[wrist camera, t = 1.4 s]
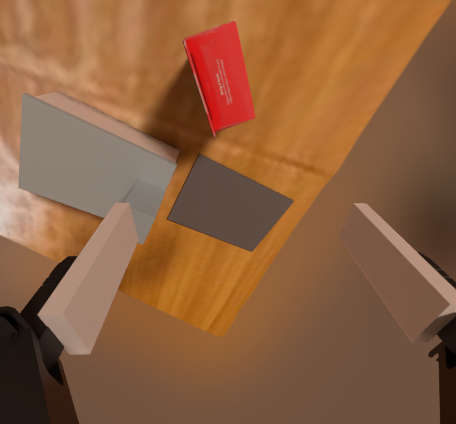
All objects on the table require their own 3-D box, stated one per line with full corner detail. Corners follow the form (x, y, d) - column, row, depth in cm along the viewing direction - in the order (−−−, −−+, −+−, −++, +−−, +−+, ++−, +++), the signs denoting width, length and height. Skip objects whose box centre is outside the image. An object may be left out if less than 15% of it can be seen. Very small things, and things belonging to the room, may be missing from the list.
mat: (167, 218, 44) (167, 219, 44) (199, 153, 37) (199, 154, 37) (252, 250, 50) (252, 251, 50) (293, 200, 43) (293, 201, 43)
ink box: (245, 102, 33) (262, 127, 21) (213, 113, 34) (212, 142, 22) (229, 32, 28) (239, 11, 16) (193, 45, 29) (176, 36, 17)
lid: (29, 181, 34) (-25, 216, 26) (35, 92, 27) (-35, 104, 20) (149, 224, 39) (134, 264, 32) (178, 160, 33) (167, 190, 25)
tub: (50, 168, 37) (25, 184, 32) (59, 91, 31) (30, 97, 26) (154, 208, 43) (146, 228, 38) (180, 150, 37) (174, 164, 32)
